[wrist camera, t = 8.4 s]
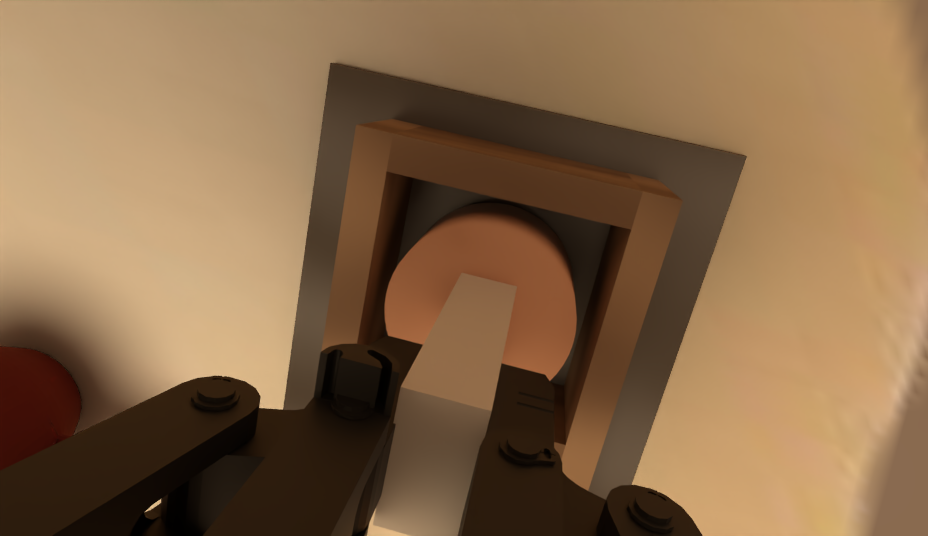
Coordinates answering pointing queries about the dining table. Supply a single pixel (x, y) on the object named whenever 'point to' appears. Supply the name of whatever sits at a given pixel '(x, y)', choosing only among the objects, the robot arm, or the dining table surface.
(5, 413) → the mug
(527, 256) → the brown oval piece
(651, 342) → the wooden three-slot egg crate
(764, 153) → the dining table surface
